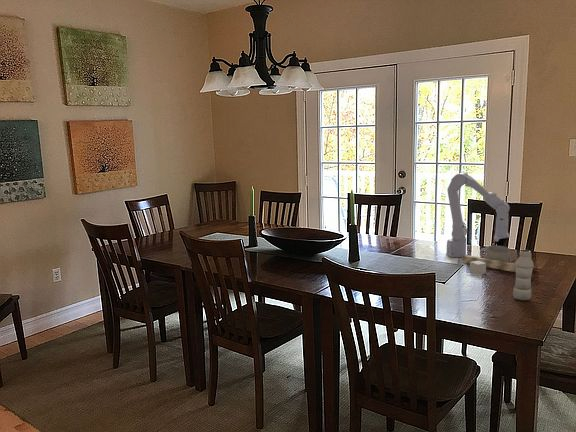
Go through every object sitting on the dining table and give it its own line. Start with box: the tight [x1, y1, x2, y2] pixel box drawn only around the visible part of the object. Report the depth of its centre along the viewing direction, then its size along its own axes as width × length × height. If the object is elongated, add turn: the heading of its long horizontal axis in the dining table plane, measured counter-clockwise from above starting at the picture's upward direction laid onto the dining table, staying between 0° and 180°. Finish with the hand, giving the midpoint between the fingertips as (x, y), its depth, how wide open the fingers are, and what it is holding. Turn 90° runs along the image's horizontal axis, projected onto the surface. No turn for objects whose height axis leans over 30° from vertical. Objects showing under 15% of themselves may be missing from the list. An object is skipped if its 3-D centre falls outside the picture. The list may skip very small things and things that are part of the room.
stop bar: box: [461, 254, 516, 273], centre depth 234 cm, size 26×2×4 cm, turn 46°
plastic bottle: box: [512, 249, 535, 301], centre depth 188 cm, size 6×7×20 cm
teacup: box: [479, 244, 511, 262], centre depth 239 cm, size 14×11×8 cm
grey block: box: [469, 261, 487, 276], centre depth 225 cm, size 5×5×5 cm
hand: (500, 252), depth 244 cm, fingers closed
